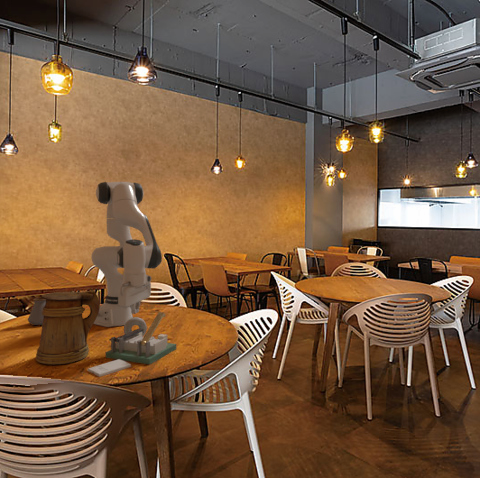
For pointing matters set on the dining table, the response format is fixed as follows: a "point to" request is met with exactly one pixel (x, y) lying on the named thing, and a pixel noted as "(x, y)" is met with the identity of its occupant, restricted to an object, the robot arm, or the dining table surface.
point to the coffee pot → (37, 312)
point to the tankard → (66, 326)
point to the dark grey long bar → (129, 334)
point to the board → (140, 349)
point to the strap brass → (152, 328)
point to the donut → (135, 321)
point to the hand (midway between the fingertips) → (135, 313)
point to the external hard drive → (109, 367)
